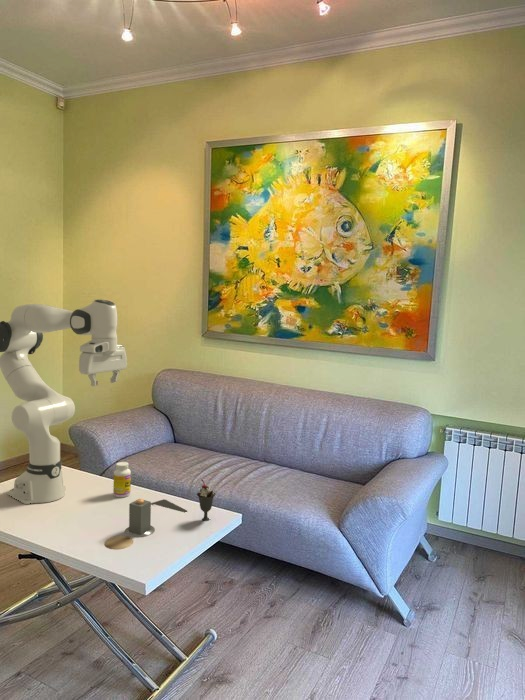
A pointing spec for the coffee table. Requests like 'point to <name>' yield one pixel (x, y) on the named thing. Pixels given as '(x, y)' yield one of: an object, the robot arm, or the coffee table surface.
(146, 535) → the grey knobbed dome
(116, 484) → the supplement bottle
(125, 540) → the coaster
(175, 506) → the smartphone
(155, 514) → the coffee table surface
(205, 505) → the sundae
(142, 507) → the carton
